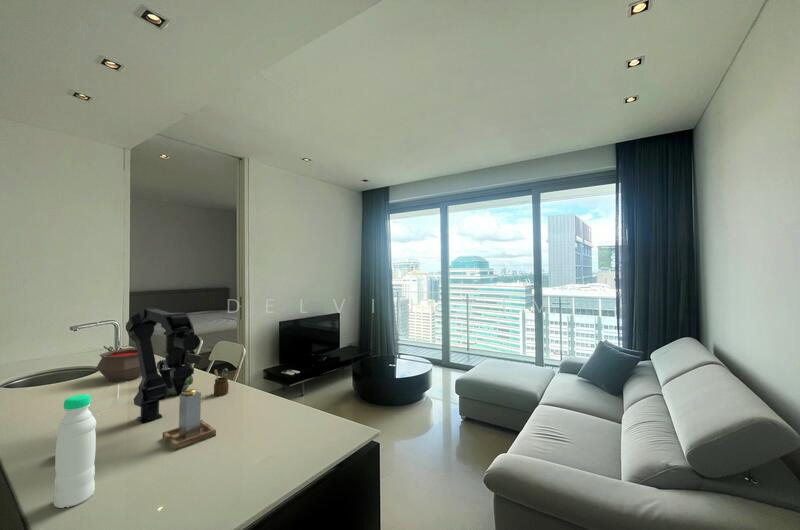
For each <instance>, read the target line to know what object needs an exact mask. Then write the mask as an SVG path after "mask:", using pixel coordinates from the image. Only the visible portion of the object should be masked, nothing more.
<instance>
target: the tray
mask: <svg viewBox="0 0 800 530" xmlns="http://www.w3.org/2000/svg"><path fill="white" fill-rule="evenodd" d="M216 436H217V429H215V428H214V427H213V426H211V425H210V424H208V422H206V421H204V420H203V419H200V434H199V435H196V436H193V437H190V438H188V439H183V438H181V437H179V426H178V427H175V428H173V429H170V430H166V431H164V432H162V438H163V439H164V440H165V441H164V440H163V441H164V442H165V443H166V444H168V445H169V446H170V448H171V449H172V450H173V451H175V452H176V451H178V450H182V449H183V448H187V447H189V446H192V445H194V444H198V443H200V442H203V441H205V440H208V439H210V438H213V437H216Z"/></svg>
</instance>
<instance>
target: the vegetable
mask: <svg viewBox="0 0 800 530" xmlns="http://www.w3.org/2000/svg"><path fill="white" fill-rule="evenodd" d="M193 382H194V377H193V374H192V375H191V376H189V377H188V378H187V379H186V381H185V383H184V386H183V389H182V392H181V393H185V391H186V390H188V388H189V386H191V385H193ZM171 395H177V393H176V391H175V389H174V386H173V385H172V388H171V389H168V390H167V394H166V397H169V396H171Z"/></svg>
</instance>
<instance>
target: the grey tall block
mask: <svg viewBox="0 0 800 530" xmlns="http://www.w3.org/2000/svg"><path fill="white" fill-rule="evenodd" d="M201 403H202V393H201V392H199V391H197V389H196V388H195V389H194V388H191V389H187V390H186V391H185V392H183V393H181V394H179V410H178V413H179V415H178V416H179V417H178V418H179V419H178V427H179V437H181V438H183V439H188V438H190V437H193V436H196V435H199V434H200V420H201V411H202V409H201V406H202V404H201Z"/></svg>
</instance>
